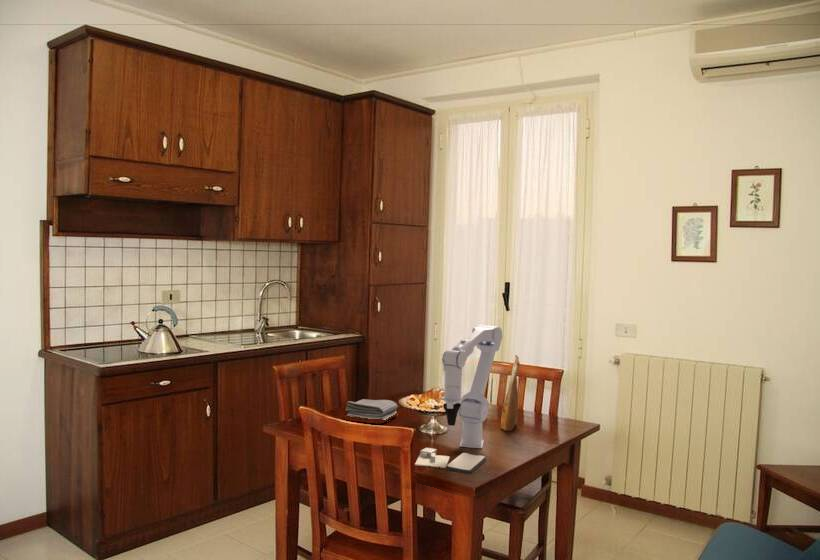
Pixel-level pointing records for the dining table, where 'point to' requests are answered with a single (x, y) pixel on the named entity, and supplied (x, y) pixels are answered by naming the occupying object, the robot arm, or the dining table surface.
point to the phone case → (466, 462)
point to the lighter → (429, 453)
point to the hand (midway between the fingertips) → (451, 425)
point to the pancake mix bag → (511, 401)
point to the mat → (439, 462)
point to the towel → (372, 409)
